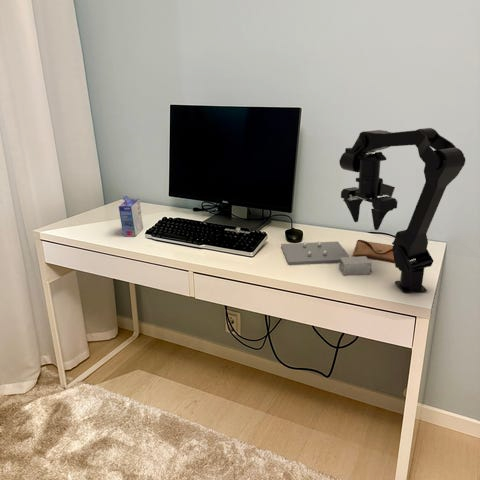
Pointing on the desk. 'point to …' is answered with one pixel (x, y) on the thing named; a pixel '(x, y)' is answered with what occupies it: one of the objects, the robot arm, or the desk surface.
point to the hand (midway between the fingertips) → (366, 225)
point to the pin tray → (313, 253)
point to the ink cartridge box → (131, 217)
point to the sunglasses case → (374, 251)
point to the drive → (355, 266)
